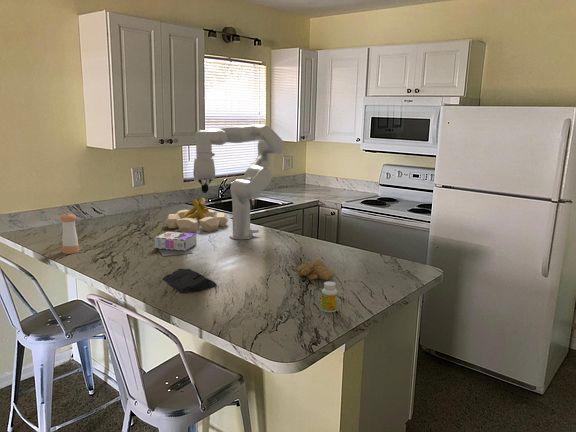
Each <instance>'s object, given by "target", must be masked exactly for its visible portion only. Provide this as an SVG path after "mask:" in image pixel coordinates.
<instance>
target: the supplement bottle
mask: <svg viewBox="0 0 576 432" xmlns="http://www.w3.org/2000/svg"><path fill="white" fill-rule="evenodd" d="M336 285H337V284H336V282H334V281H329V280H328V281H324V283H323V288H322V290H321V303H320V304H321V311H323V312H324V313H335V312H337V309H338V289H336Z"/></svg>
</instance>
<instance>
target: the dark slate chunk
mask: <svg viewBox="0 0 576 432" xmlns="http://www.w3.org/2000/svg"><path fill="white" fill-rule="evenodd" d="M162 281H164V282H166V284H168V285H169V286H170V287H172V288H173V289H175V290H176V291H177V292H178V293H180V294H191V293H195V292H196V293H197V292H202V291H206V290H209V289H212V288H214V287H217V285H218V284H217V283H216V282H215V281H213V280H212V279H209V278H208V277H205V276H204V275H203V274H201V273H199V272H198V271H196V270H192V269H190V268H179V269H177V270H175V271H173V272H172V273H170V274H166V275H165V276H163V278H162Z"/></svg>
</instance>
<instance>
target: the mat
mask: <svg viewBox="0 0 576 432" xmlns="http://www.w3.org/2000/svg"><path fill="white" fill-rule="evenodd" d="M157 250H158V251H159V253H160V254H161V256H162V257H170V256H171V257H172V256H180V255H191V254H193V251H192V250H191V248H189V249H188V250H186V251H178V250H166V249H157Z"/></svg>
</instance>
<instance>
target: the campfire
mask: <svg viewBox="0 0 576 432" xmlns="http://www.w3.org/2000/svg"><path fill="white" fill-rule="evenodd" d="M191 203H192V205H193V206H192V207H191V208H190V209H189V210H188V209H181V210H178V211H177V212H176V213H169V214H168V215H167V217H166V219H165V222H164V223H165V224H166V226H167V228H168V229H179V230H180V232H181V233H196V232H198V231H199V224H200V227H201V229H202V231H203V232H207V233H209V232H215V231H217V230H218V228H223V227H224V228H225V227H226V225H227V224H228V222H229V219H228V217H227V215H226V213H225V212H217V211H216V210H214V209H210V208H208V207H205V205H206V198H204V197H201V198H200V199H199V201H198V200H197V199H196V198H194V199H192V200H191Z"/></svg>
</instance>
